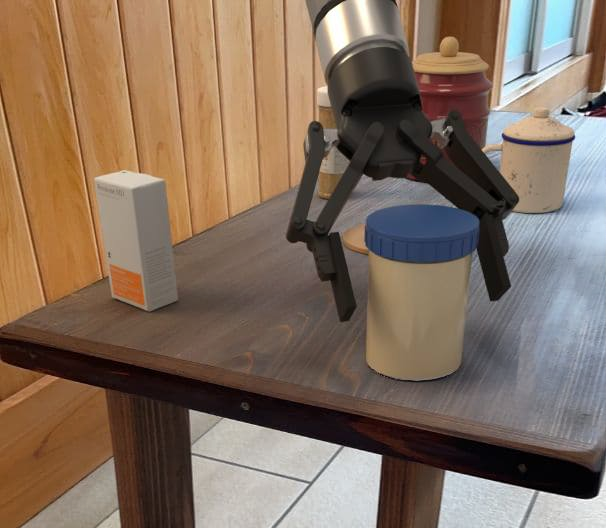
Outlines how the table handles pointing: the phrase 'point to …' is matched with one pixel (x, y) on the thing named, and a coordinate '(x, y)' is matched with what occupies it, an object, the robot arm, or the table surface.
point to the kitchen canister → (454, 89)
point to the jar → (416, 316)
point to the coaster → (356, 238)
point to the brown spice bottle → (335, 160)
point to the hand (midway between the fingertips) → (426, 304)
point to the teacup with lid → (536, 160)
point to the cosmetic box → (137, 238)
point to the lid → (421, 233)
